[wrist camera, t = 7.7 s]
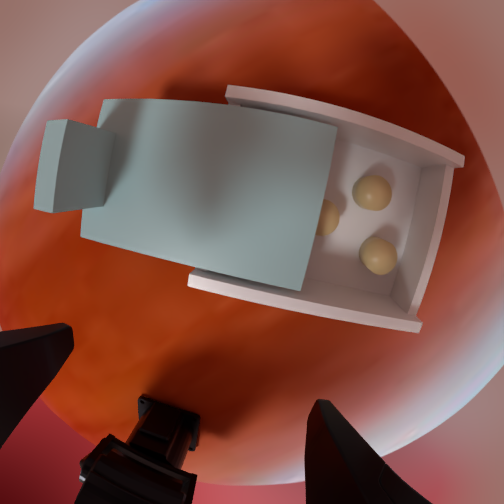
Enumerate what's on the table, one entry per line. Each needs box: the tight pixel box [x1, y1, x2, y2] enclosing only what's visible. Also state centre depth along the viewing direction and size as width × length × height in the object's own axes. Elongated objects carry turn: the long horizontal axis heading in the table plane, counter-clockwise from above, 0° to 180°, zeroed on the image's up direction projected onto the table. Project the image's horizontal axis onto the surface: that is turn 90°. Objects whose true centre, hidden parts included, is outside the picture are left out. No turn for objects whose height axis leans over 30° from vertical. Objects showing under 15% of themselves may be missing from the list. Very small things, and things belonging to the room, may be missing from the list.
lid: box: [34, 99, 338, 291], centre depth 12 cm, size 9×14×5 cm, turn 78°
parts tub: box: [188, 85, 465, 333], centre depth 16 cm, size 11×14×5 cm
